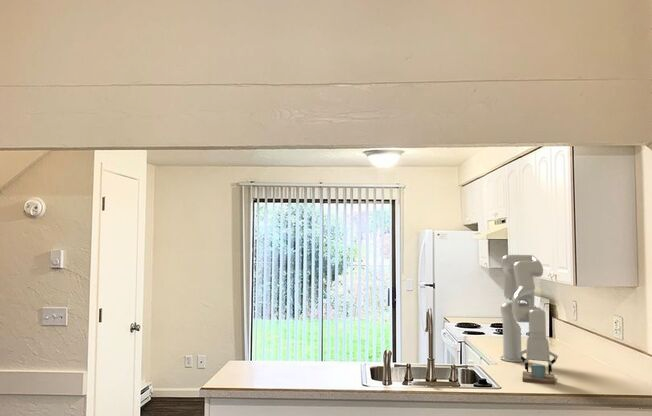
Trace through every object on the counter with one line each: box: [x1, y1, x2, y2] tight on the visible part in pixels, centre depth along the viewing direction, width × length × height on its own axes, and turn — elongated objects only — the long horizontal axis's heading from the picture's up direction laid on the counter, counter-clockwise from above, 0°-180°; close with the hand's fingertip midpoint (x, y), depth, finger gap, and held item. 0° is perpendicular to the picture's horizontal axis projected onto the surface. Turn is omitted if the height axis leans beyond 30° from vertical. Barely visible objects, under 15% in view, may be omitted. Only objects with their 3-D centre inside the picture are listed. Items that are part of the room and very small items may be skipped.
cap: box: [530, 363, 546, 378], centre depth 242 cm, size 6×6×5 cm
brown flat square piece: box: [521, 371, 556, 386], centre depth 242 cm, size 14×14×2 cm
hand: (538, 372), depth 242 cm, fingers open, 9 cm apart
